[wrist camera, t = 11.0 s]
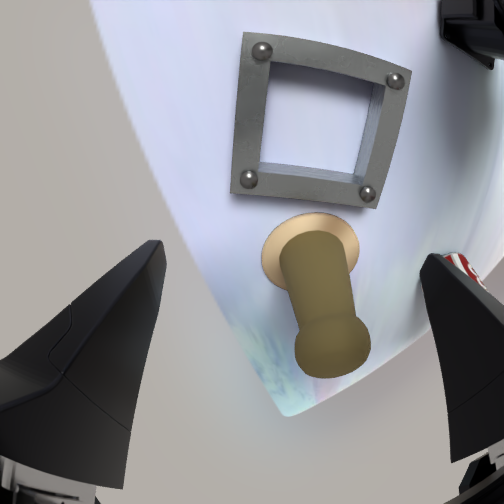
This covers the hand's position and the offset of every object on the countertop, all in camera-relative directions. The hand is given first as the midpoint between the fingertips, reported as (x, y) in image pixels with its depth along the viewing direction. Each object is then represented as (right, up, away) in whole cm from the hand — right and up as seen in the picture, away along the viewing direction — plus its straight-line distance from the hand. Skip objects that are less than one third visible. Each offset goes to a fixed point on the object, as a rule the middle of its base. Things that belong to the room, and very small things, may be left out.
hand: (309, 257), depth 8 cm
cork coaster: (+4, 0, +16) cm, 17 cm away
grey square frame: (+3, +9, +9) cm, 13 cm away
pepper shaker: (+4, 0, +16) cm, 17 cm away
